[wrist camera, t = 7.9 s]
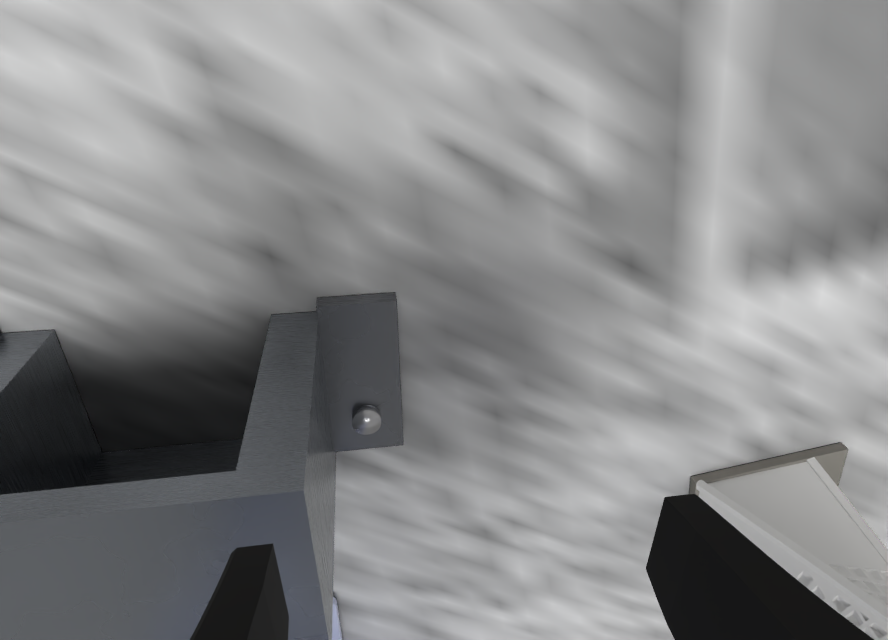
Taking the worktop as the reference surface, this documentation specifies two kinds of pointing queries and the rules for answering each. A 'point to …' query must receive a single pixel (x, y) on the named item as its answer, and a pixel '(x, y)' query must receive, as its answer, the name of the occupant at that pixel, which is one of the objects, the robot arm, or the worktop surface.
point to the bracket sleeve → (186, 484)
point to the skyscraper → (807, 529)
